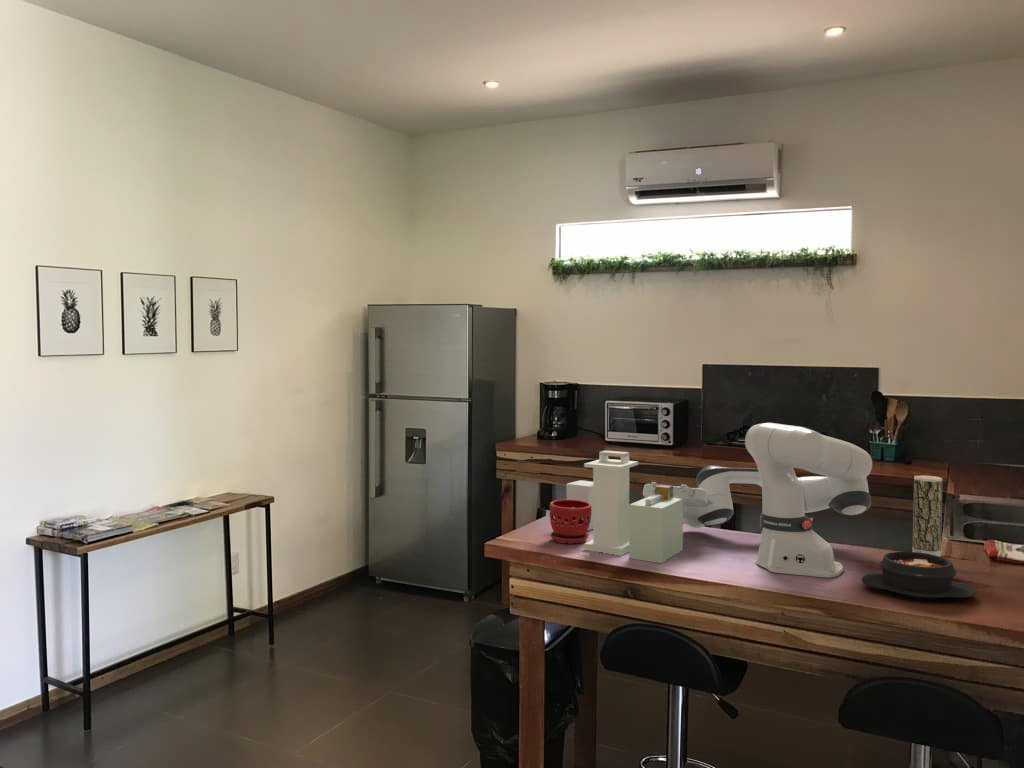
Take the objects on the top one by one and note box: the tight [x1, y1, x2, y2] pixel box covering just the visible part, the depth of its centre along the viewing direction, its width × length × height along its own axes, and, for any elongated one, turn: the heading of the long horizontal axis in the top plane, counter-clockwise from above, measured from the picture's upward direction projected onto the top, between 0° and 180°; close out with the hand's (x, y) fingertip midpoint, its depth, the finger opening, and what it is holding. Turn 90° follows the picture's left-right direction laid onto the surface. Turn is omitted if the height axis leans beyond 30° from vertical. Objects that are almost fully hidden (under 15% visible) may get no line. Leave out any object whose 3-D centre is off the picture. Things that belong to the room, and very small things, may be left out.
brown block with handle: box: [646, 484, 674, 505], centre depth 232 cm, size 4×14×4 cm, turn 147°
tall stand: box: [583, 449, 639, 557], centre depth 238 cm, size 12×12×29 cm
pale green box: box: [628, 495, 684, 564], centre depth 231 cm, size 10×16×16 cm, turn 147°
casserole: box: [861, 551, 977, 600], centre depth 195 cm, size 25×19×8 cm
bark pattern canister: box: [912, 475, 943, 557], centre depth 214 cm, size 7×7×25 cm
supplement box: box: [565, 479, 593, 532], centre depth 267 cm, size 9×9×15 cm
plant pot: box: [549, 499, 592, 545], centre depth 248 cm, size 13×13×12 cm
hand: (668, 485), depth 239 cm, fingers open, 8 cm apart
